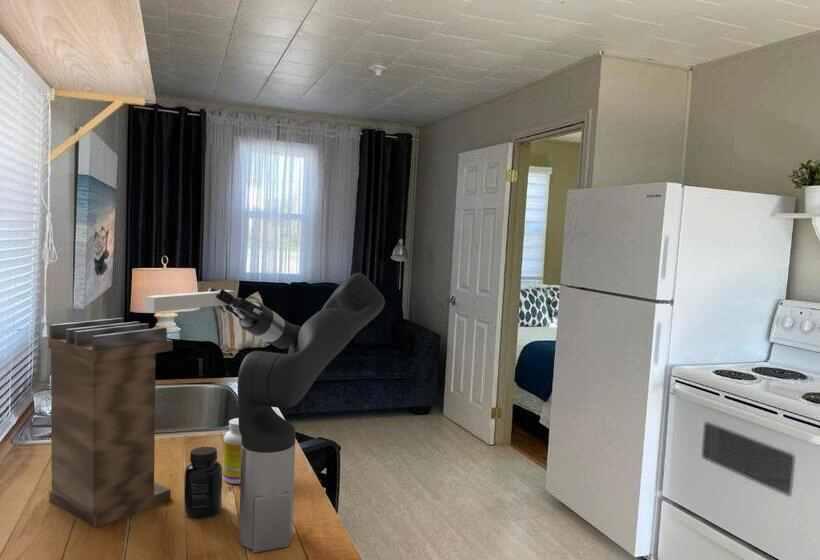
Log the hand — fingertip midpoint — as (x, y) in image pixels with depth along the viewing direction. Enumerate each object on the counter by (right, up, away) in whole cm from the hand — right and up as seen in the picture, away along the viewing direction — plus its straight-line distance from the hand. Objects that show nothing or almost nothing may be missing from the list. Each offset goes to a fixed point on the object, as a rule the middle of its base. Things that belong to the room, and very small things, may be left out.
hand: (213, 292), depth 141 cm
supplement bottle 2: (+8, -41, -8) cm, 42 cm away
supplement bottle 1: (+6, -42, -24) cm, 48 cm away
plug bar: (-3, -3, -4) cm, 6 cm away
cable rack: (-14, -40, -21) cm, 47 cm away
